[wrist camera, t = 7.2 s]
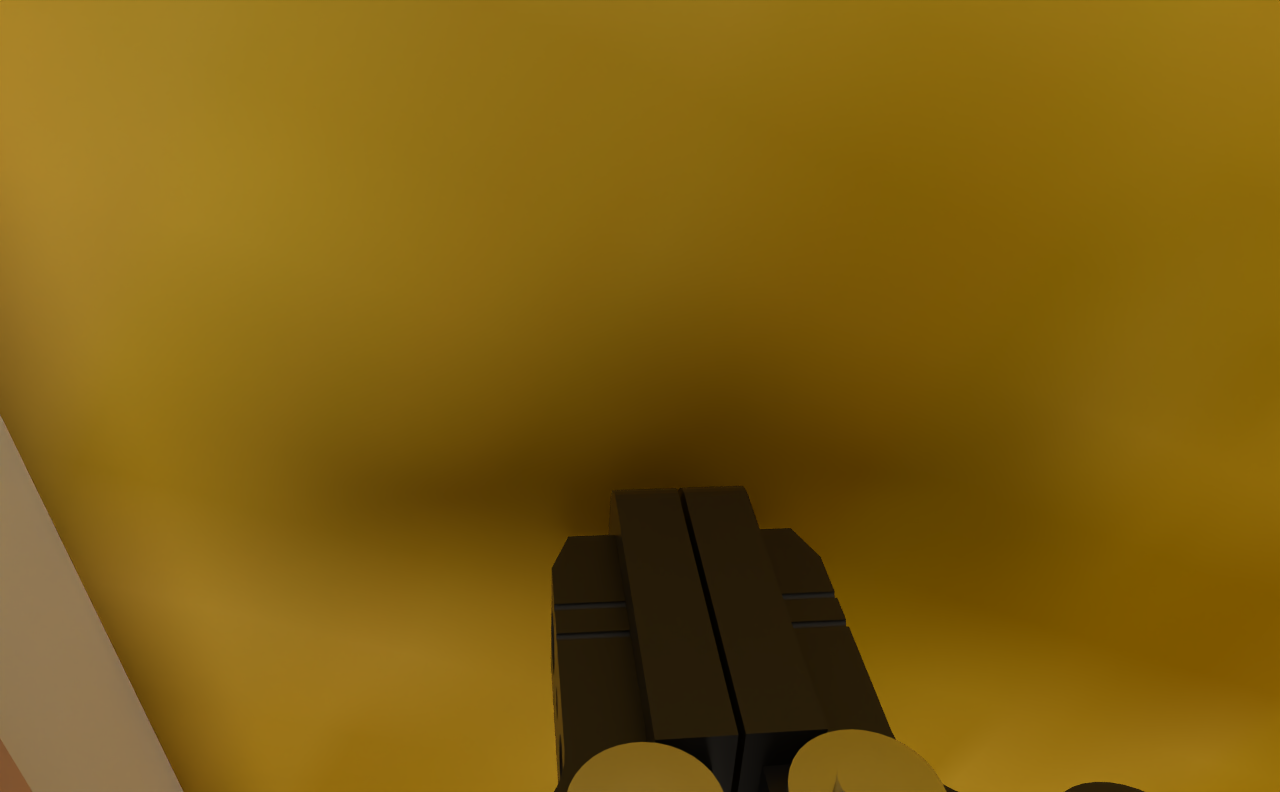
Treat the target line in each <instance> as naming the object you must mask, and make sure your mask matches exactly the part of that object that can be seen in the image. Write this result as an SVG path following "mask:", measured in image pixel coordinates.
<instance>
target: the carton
mask: <svg viewBox="0 0 1280 792" xmlns="http://www.w3.org/2000/svg"><path fill="white" fill-rule="evenodd" d="M0 792H183V790H182V788H181V786H180V784H179V782H178V780H177V778H176V776H175V773H174V771H173V769H172V767H171V765H170V763H169V761H168V759H167V757H166V755H165V753H164V751H163V749H162V747H161V745H160V743H159V740H158V738H157V736H156V734H155V732H154V730H153V728H152V726H151V724H150V722H149V720H148V718H147V716H146V714H145V712H144V710H143V708H142V705H141V703H140V701H139V699H138V697H137V695H136V693H135V691H134V689H133V687H132V685H131V683H130V681H129V679H128V677H127V675H126V673H125V670H124V668H123V666H122V664H121V662H120V660H119V658H118V656H117V654H116V652H115V650H114V648H113V646H112V644H111V642H110V640H109V637H108V635H107V633H106V631H105V629H104V627H103V625H102V623H101V621H100V619H99V617H98V615H97V613H96V611H95V609H94V607H93V605H92V602H91V600H90V598H89V596H88V594H87V592H86V590H85V588H84V586H83V584H82V582H81V580H80V578H79V576H78V574H77V572H76V570H75V567H74V565H73V563H72V561H71V559H70V557H69V555H68V553H67V551H66V549H65V547H64V545H63V543H62V541H61V539H60V537H59V535H58V532H57V530H56V528H55V526H54V524H53V522H52V520H51V518H50V516H49V514H48V512H47V510H46V508H45V506H44V504H43V502H42V499H41V497H40V495H39V493H38V491H37V489H36V487H35V485H34V483H33V481H32V479H31V477H30V475H29V473H28V471H27V469H26V467H25V464H24V462H23V460H22V458H21V456H20V454H19V452H18V450H17V448H16V446H15V444H14V442H13V440H12V438H11V436H10V434H9V432H8V429H7V427H6V425H5V423H4V421H3V419H2V417H1V415H0Z"/></svg>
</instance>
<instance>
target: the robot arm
mask: <svg viewBox="0 0 1280 792" xmlns="http://www.w3.org/2000/svg"><path fill="white" fill-rule="evenodd" d="M551 673H552V689H553V705H554V722H555V736H556V755H557V771H558V785H557V788H556V789H555V791H554V792H958V791H955V790H953V789H951V788H949V787H947V786H945V785H943V784H942V782H941V780H940V779H939V777H938V776H937V774H936V772H935V771H934V770H933V769H932V767H931V766H930V765H929V764H928V763H927V762H926V761H925V760H924V759H923V758H922V757H921V756H920V755H919V754H917V753H916V752H915V751H914V750H912V749H911V748H909V747H908V746H906V745H905V744H903V743H901V742H899V741H897V740H896V739H895V737H894V735H893V733H892V731H891V729H890V727H889V724H888V722H887V719H886V717H885V714H884V712H883V709H882V707H881V704H880V702H879V700H878V697H877V695H876V692H875V690H874V687H873V685H872V682H871V680H870V677H869V675H868V673H867V670H866V668H865V665H864V663H863V660H862V658H861V655H860V653H859V650H858V648H857V646H856V643H855V641H854V638H853V636H852V633H851V631H850V628H849V627H846V619H845V616H844V614H843V611H842V609H841V606H840V604H839V601H838V599H837V598H835V596H834V589H833V587H832V584H831V582H830V579H829V577H828V574H827V572H826V569H825V567H824V564H823V562H822V560H821V557H820V556H819V555H818V554H817V553H816V552H815V551H814V550H813V549H812V548H811V547H809V546H808V545H807V544H806V543H805V542H804V541H803V540H802V539H801V538H800V537H799V536H798V535H797V534H796V533H795V532H794V531H793V530H792V529H791V528H785V529H759V526H758V523H757V520H756V518H755V515H754V512H753V509H752V506H751V503H750V500H749V497H748V494H747V492H746V490H745V488H744V487H743V486H720V487H687V488H679V489H678V491H677V489H676V488H663V489H631V490H612V493H611V499H610V517H609V535H599V536H571V537H568V539H567V540H566V542H565V544H564V546H563V548H562V550H561V552H560V554H559V556H558V557H557V559H556V561H555V563H554V565H553V567H552V614H551ZM1065 792H1144V791H1141V790H1139V789H1136V788H1132V787H1129V786H1126V785H1121V784H1116V783H1110V782H1092V783H1084V784H1081V785H1077V786H1074V787H1072V788H1070V789H1068V790H1067V791H1065Z"/></svg>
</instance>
